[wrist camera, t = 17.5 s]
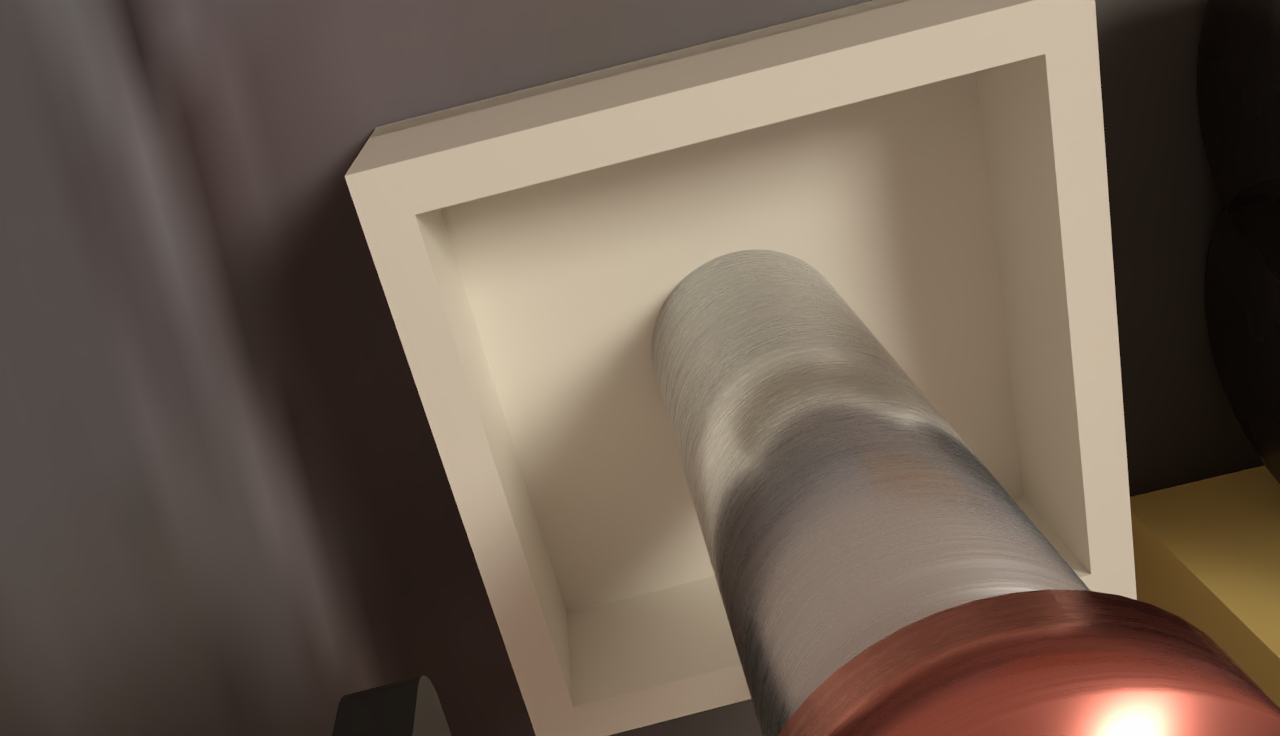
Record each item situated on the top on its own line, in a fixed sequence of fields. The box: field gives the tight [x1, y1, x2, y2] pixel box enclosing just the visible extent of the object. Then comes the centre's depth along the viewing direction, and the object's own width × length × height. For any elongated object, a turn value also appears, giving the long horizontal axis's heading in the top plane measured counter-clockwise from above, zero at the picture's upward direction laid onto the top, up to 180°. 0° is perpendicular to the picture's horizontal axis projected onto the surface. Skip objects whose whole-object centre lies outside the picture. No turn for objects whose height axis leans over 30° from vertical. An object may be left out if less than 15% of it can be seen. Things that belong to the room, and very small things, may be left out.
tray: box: [345, 0, 1137, 736], centre depth 15 cm, size 8×8×3 cm
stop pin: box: [651, 249, 1280, 736], centre depth 11 cm, size 4×4×10 cm
